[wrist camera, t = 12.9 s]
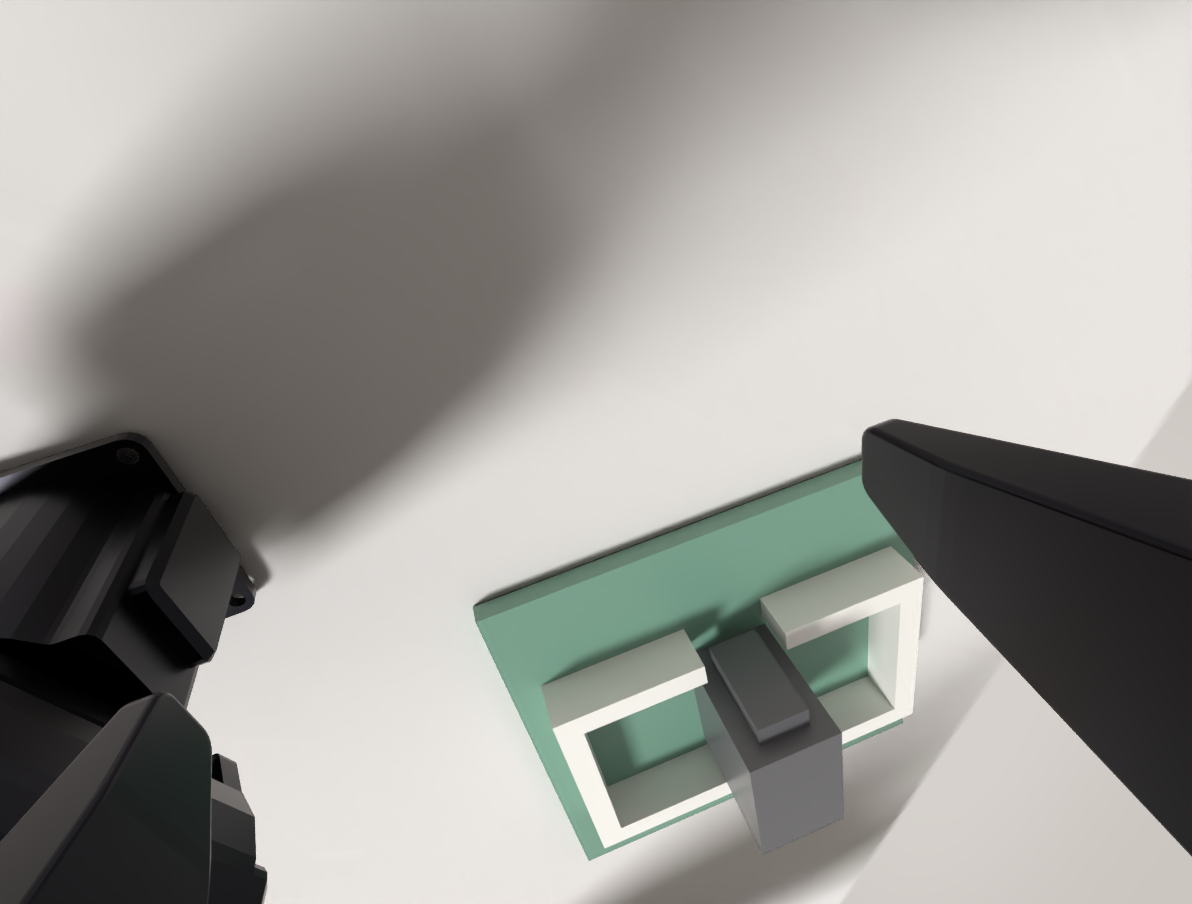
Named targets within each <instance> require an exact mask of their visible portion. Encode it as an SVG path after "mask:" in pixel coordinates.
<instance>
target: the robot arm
mask: <svg viewBox="0 0 1192 904" xmlns="http://www.w3.org/2000/svg"><path fill="white" fill-rule="evenodd" d="M121 448H131V449H134V450H135V451H136V452H138V454H139V457H130V456H127V455H126V454H124V453H123V452H122V449H121ZM862 483H863V486H864V489H865V491H866V493H867V495H868V496H869V498H870V499H871V500H872V502H873V503H874V504H875V506H876V507H877V508H878V510H879V511H880V512H881V514H882V515H883V516H884V518H885V519H886V520H887V521H888V523H889V524H890V525H891V527H892V528H893V529H894V531H895V532H896V533H897V535H898V536H899V537H900V539H901V540H902V541H903V543H904V544H905V545H906V547H907V548H908V549H909V550H910V552H911V553H912V554H913V556H914V557H915V558H916V560H917V561H918V562H919V564H920V565H921V566H922V568H923V569H924V570H925V571H926V573H927V574H928V575H929V576H930V578H931V579H932V580H933V581H934V582H935V584H936V585H937V586H938V587H939V588H940V589H941V590H942V591H943V592H944V594H945V595H946V596H947V597H948V598H949V599H950V600H951V601H952V602H953V603H954V604H955V605H956V606H957V608H958V609H959V610H960V611H961V612H962V613H963V614H964V615H965V616H966V617H967V618H968V619H969V620H970V621H971V622H972V623H973V625H974V626H975V627H976V628H977V629H978V630H979V631H980V632H981V633H982V634H983V635H984V636H985V637H986V638H987V639H988V640H989V642H990V643H991V644H992V645H993V646H994V647H995V648H996V649H997V650H998V651H999V652H1000V653H1001V654H1002V655H1003V656H1004V657H1005V659H1006V660H1007V661H1008V662H1009V663H1010V664H1011V665H1012V666H1013V667H1014V668H1015V669H1016V670H1017V671H1018V672H1019V673H1020V674H1021V676H1022V677H1023V678H1024V679H1025V680H1026V681H1027V682H1028V683H1029V684H1030V685H1031V686H1032V687H1033V688H1034V689H1035V690H1036V691H1037V692H1038V694H1039V695H1040V696H1041V697H1042V698H1043V699H1044V700H1045V701H1046V702H1047V703H1048V704H1049V705H1050V706H1051V707H1052V708H1053V710H1054V711H1055V712H1056V713H1057V714H1058V715H1059V716H1060V717H1061V718H1062V719H1063V720H1064V721H1065V722H1066V723H1067V724H1068V725H1069V727H1070V728H1072V730H1073V731H1074V732H1076V734H1077V735H1078V736H1079V737H1080V738H1081V739H1082V740H1083V741H1084V742H1085V744H1086V745H1087V746H1088V747H1089V748H1090V749H1091V750H1092V751H1093V752H1094V753H1095V754H1096V755H1097V756H1098V757H1099V758H1100V759H1101V761H1102V762H1103V763H1104V764H1105V765H1106V766H1107V767H1108V768H1109V769H1110V770H1111V771H1112V772H1113V773H1114V774H1115V775H1116V777H1117V778H1118V779H1119V780H1120V781H1121V782H1122V783H1123V784H1124V785H1125V786H1126V787H1127V788H1128V789H1129V790H1130V791H1131V792H1132V793H1133V795H1134V796H1135V797H1136V798H1137V799H1138V800H1139V801H1140V802H1141V803H1142V804H1143V805H1144V806H1145V807H1146V808H1147V809H1148V810H1149V812H1151V814H1152V815H1153V816H1154V817H1155V818H1156V819H1157V820H1158V821H1159V822H1160V823H1161V824H1162V825H1163V826H1164V828H1165V829H1166V830H1167V831H1168V832H1169V833H1170V834H1171V835H1172V836H1173V837H1174V838H1175V839H1176V840H1177V841H1178V842H1179V843H1180V845H1181V846H1182V847H1183V848H1184V849H1185V850H1186V851H1187V852H1188V853H1189V854H1190V855H1191V856H1192V480H1191V479H1186V478H1181V477H1176V476H1171V475H1166V474H1162V473H1156V472H1151V471H1147V470H1142V469H1137V468H1132V467H1128V466H1123V465H1118V464H1113V463H1108V462H1103V461H1098V460H1094V459H1089V458H1084V457H1079V456H1074V455H1069V454H1064V453H1060V452H1055V451H1050V450H1045V449H1040V448H1035V447H1030V446H1026V445H1021V444H1016V443H1011V442H1006V441H1001V440H996V439H991V438H987V437H982V436H977V435H972V434H967V433H962V432H957V431H953V430H948V429H943V428H938V427H933V426H928V425H924V424H919V423H914V422H909V421H904V420H899V419H891V420H887V421H885V422H882V423H879V424H877V425H874V426H871V427H869V428H867V429H866V430H865V431H864V433H863V436H862ZM240 560H241V556H240V554H239V553H238V551H237V550H236V549H235V547H234V546H233V544H232V543H231V541H230V540H229V539H228V537H227V536H226V534H225V533H224V532H223V530H222V529H221V527H220V526H219V525H218V523H217V522H216V520H215V519H214V518H213V516H212V515H211V513H210V512H209V510H208V509H207V508H206V506H205V505H204V503H203V502H202V501H201V499H200V498H199V496H198V495H196V494H194V493H192V492H189V491H186V490H185V488H184V487H183V485H182V484H181V483H180V481H179V480H178V478H177V477H176V476H175V474H174V473H173V472H172V470H171V469H170V467H169V466H168V465H167V463H166V462H165V460H164V459H163V458H162V456H161V455H160V453H159V452H158V451H157V449H156V448H155V446H154V445H153V444H152V442H151V441H149V440H148V439H147V438H146V437H145V436H142V435H140V434H138V433H132V432H127V433H121V434H118V435H114V436H111V437H108V438H105V439H102V440H99V441H96V442H93V443H90V444H86V445H83V446H80V447H77V448H74V449H71V450H68V451H65V452H62V453H58V454H55V455H52V456H49V457H46V458H43V459H40V460H37V461H34V462H31V463H27V464H24V465H21V466H18V467H15V468H12V469H9V470H6V471H3V472H0V904H264V900H265V896H266V891H267V871H266V869H265V868H264V867H262V866H259V865H257V864H255V861H256V843H255V817H254V815H253V813H252V811H251V809H250V807H249V805H248V803H247V801H246V799H245V797H244V795H243V793H242V791H241V785H240V780H239V774H238V769H237V764H236V762H234V761H232V760H230V759H228V758H226V757H224V756H222V755H220V754H214V755H212V747H211V742H210V739H209V736H208V734H207V732H206V731H205V729H204V728H203V727H202V726H201V725H200V724H199V722H198V721H197V720H196V719H195V718H194V717H193V716H192V715H191V714H190V713H189V712H188V711H187V710H186V709H187V705H188V702H189V698H190V695H191V691H192V688H193V684H194V681H195V677H196V674H197V670H198V667H199V665H202V664H205V663H207V662H210V661H211V660H212V658H213V656H214V654H215V652H216V650H217V646H218V642H219V639H220V635H221V631H222V627H223V624H224V620H225V618H228V617H230V616H233V615H236V614H239V613H241V612H244V611H246V610H248V609H250V608H251V607H252V605H253V604H254V601H255V596H256V591H257V590H256V588H255V586H254V584H253V583H252V581H251V580H250V579H249V577H248V576H247V574H246V573H245V572H244V570H243V569H242V568H241V566H240V565H239V564H240ZM232 594H241V595H243V596H244V597H242V598H236V597H233V596H232Z"/></svg>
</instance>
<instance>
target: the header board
mask: <svg viewBox="0 0 1192 904" xmlns="http://www.w3.org/2000/svg"><path fill="white" fill-rule="evenodd" d="M923 582H924V576H923V575H922V574H921V573H920V572H918V571H917V570H916V569H915V568H914V556H913V554H912V553H911V552H910V550H909V549H908V548H907V547H906V545H905V544H904V543H903V541H902V540H901V539H900V537H899V536H898V535H897V533H896V532H895V531H894V529H893V528H892V527H891V525H890V524H889V523H888V521H887V520H886V519H885V518H884V516H883V515H882V514H881V512H880V511H879V510H878V508H877V507H876V506H875V504H874V503H873V502H872V500H871V499H870V498H869V496H868V495H867V493H866V491H865V489H864V486H863V483H862V460H859V461H857V462H854V463H852V464H849V465H846V466H844V467H841V468H838V469H836V470H833V471H830V472H828V473H825V474H823V475H820V476H817V477H815V478H812V479H809V480H807V481H804V482H801V483H799V484H796V485H793V486H791V487H788V488H786V489H783V490H780V491H778V492H775V493H772V494H770V495H767V496H764V497H762V498H759V499H757V500H754V501H751V502H749V503H746V504H743V505H741V506H738V507H735V508H733V509H730V510H728V511H725V512H722V513H720V514H717V515H714V516H712V517H709V518H706V519H704V520H701V521H698V522H696V523H693V524H691V525H688V526H685V527H683V528H680V529H677V530H675V531H672V532H669V533H667V534H664V535H662V536H659V537H656V538H654V539H651V540H648V541H646V542H643V543H640V544H638V545H635V546H633V547H630V548H627V549H625V550H622V551H619V552H617V553H614V554H611V555H609V556H606V557H603V558H601V559H598V560H596V561H593V562H590V563H588V564H585V565H582V566H580V567H577V568H574V569H572V570H569V571H567V572H564V573H561V574H559V575H556V576H553V577H551V578H548V579H545V580H543V581H540V582H538V583H535V584H532V585H530V586H527V587H524V588H522V589H519V590H516V591H514V592H511V593H508V594H506V595H503V596H501V597H498V598H495V599H493V600H490V601H487V602H485V603H482V604H479V605H477V606H474V607H473V610H474V616H475V621H476V624H477V626H478V628H479V630H480V632H481V635H482V637H483V639H484V641H485V643H486V645H487V647H488V649H489V651H490V654H491V656H492V658H493V660H494V662H495V664H496V666H497V668H498V670H499V672H500V675H501V677H502V679H503V681H504V683H505V685H506V687H507V689H508V691H509V694H510V696H511V698H512V700H513V702H514V704H515V706H516V708H517V710H518V713H519V715H520V717H521V719H522V721H523V723H524V725H525V727H526V729H527V732H528V734H529V736H530V738H531V740H532V742H533V744H534V746H535V748H536V750H537V753H538V755H539V757H540V759H541V761H542V763H543V765H544V767H545V769H546V772H547V774H548V776H549V778H550V780H551V782H552V784H553V786H554V788H555V791H556V793H557V795H558V797H559V799H560V801H561V803H562V805H563V807H564V810H565V812H566V814H567V816H568V818H569V820H570V822H571V824H572V826H573V828H574V831H575V833H576V835H577V837H578V839H579V841H580V843H581V845H582V847H583V850H584V852H585V854H586V856H587V858H588V860H589V861H590V860H592V859H594V858H597V857H599V856H601V855H603V854H606V853H608V852H610V851H613V850H615V849H617V848H619V847H622V846H624V845H626V844H629V843H631V842H633V841H635V840H638V839H640V838H642V837H644V836H647V835H649V834H651V833H654V832H656V831H658V830H660V829H663V828H665V827H667V826H669V825H672V824H674V823H676V822H679V821H681V820H683V819H685V818H688V817H690V816H692V815H694V814H697V813H699V812H701V811H704V810H706V809H708V808H710V807H713V806H715V805H717V804H720V803H722V802H724V801H726V800H729V799H731V798H733V797H734V796H733V794H732V792H731V790H730V788H729V786H728V784H727V782H726V780H725V778H724V776H723V774H722V772H721V770H720V768H719V766H718V764H717V762H716V760H715V758H714V756H713V754H712V752H711V750H710V748H709V746H708V743H707V741H706V739H705V737H704V733H703V728H702V724H701V719H700V715H699V710H698V705H697V701H696V696H695V692H694V688H696V687H699V686H701V685H703V684H706V683H708V681H707V676H706V671H705V666H704V664H703V663H702V661H701V659H700V657H699V655H698V654H697V652H696V651H698V650H701V649H703V648H706V647H708V646H711V645H713V644H716V643H718V642H720V641H723V640H725V639H728V638H730V637H733V636H735V635H738V634H740V633H743V632H745V631H748V630H750V629H753V628H755V627H757V626H760V625H762V624H765V625H766V626H767V628H768V629H769V630H770V632H771V633H772V635H773V636H774V637H775V639H776V640H777V642H778V643H779V644H780V646H781V647H782V649H783V650H784V652H785V653H786V654H787V656H788V657H789V659H790V660H791V661H792V663H793V664H794V666H795V667H796V669H797V670H798V671H799V673H800V674H801V676H802V677H803V678H804V680H805V681H806V683H807V684H808V685H809V687H810V688H811V690H812V691H813V693H814V694H815V695H816V697H817V698H818V700H819V701H820V702H821V704H822V705H823V707H824V708H825V709H826V711H827V712H828V714H829V715H830V717H831V718H832V719H833V721H834V722H835V724H836V725H837V726H838V728H839V729H840V731H841V732H842V749H845V748H847V747H849V746H851V745H854V744H856V743H858V742H861V741H863V740H865V739H867V738H870V737H872V736H874V735H876V734H879V733H881V732H883V731H886V730H888V729H890V728H892V727H895V726H897V725H899V724H902V723H903V718H904V717H906V716H908V715H911V714H913V702H914V690H915V678H916V666H917V654H918V642H919V630H920V618H921V606H922V594H923Z"/></svg>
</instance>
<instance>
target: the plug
mask: <svg viewBox="0 0 1192 904" xmlns="http://www.w3.org/2000/svg"><path fill="white" fill-rule="evenodd" d="M696 652H697V654H698V655H699V657H700V659H701V661H702V663H703V664H704V666H705V671H706V676H707V681H708V683H706V684H703V685H701V686H699V687H696V688H694V692H695V696H696V701H697V705H698V710H699V715H700V719H701V724H702V728H703V733H704V737H705V739H706V741H707V743H708V746H709V748H710V750H711V752H712V754H713V756H714V758H715V760H716V762H717V764H718V766H719V768H720V770H721V772H722V774H723V776H724V778H725V780H726V782H727V784H728V786H729V788H730V790H731V792H732V794H733V796H734V798H735V800H736V802H737V804H738V806H739V808H740V810H741V812H742V814H743V816H744V818H745V820H746V822H747V824H748V826H749V828H750V830H751V832H752V834H753V836H754V838H755V840H756V842H757V844H758V846H759V848H760V850H761V852H762V854H765V853H767V852H770V851H772V850H774V849H776V848H779V847H781V846H783V845H785V844H787V843H790V842H792V841H794V840H796V839H798V838H801V837H803V836H805V835H807V834H809V833H812V832H814V831H816V830H818V829H820V828H823V827H825V826H827V825H829V824H831V823H834V822H836V821H838V820H840V819H842V818H843V767H842V732H841V731H840V729H839V728H838V726H837V725H836V724H835V722H834V721H833V719H832V718H831V717H830V715H829V714H828V712H827V711H826V709H825V708H824V707H823V705H822V704H821V702H820V701H819V700H818V698H817V697H816V695H815V694H814V693H813V691H812V690H811V688H810V687H809V685H808V684H807V683H806V681H805V680H804V678H803V677H802V676H801V674H800V673H799V671H798V670H797V669H796V667H795V666H794V664H793V663H792V661H791V660H790V659H789V657H788V656H787V654H786V653H785V652H784V650H783V649H782V647H781V646H780V644H779V643H778V642H777V640H776V639H775V637H774V636H773V635H772V633H771V632H770V630H769V629H768V628H767V626H766V625H765V624H762V625H760V626H757V627H755V628H753V629H750V630H748V631H745V632H743V633H740V634H738V635H735V636H733V637H730V638H728V639H725V640H723V641H720V642H718V643H716V644H713V645H711V646H708V647H706V648H703V649H701V650H698V651H696Z"/></svg>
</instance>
